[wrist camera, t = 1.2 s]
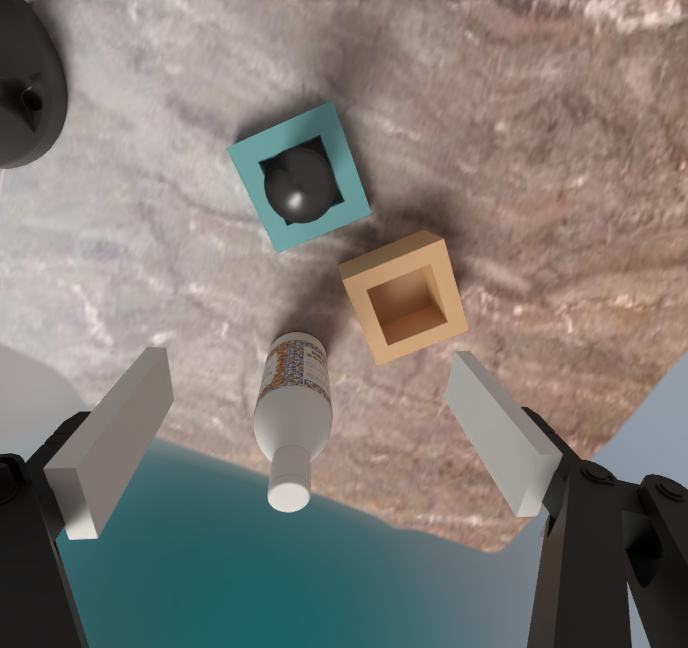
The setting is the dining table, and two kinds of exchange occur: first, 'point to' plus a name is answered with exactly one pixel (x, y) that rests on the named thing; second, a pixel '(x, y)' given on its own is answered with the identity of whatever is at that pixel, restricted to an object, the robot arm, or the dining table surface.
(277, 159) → the pin
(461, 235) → the dining table surface
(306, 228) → the mount
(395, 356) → the socket
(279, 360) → the bath foam
